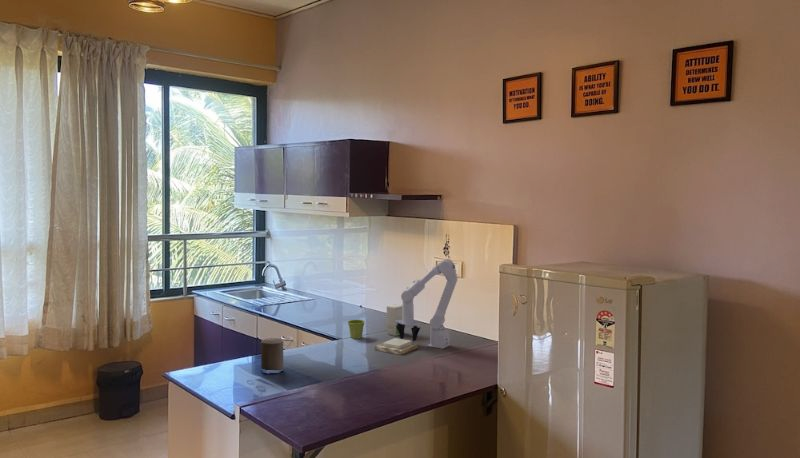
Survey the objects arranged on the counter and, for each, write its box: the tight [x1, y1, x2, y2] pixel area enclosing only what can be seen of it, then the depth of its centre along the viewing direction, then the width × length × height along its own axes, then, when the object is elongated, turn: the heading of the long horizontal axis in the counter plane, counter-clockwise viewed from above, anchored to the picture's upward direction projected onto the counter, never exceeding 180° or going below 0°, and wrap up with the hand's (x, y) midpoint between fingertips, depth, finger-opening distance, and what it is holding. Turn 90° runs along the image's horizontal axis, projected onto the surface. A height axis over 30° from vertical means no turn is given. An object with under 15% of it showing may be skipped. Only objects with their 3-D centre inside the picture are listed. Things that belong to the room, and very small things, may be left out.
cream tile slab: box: [382, 337, 413, 349], centre depth 294 cm, size 10×11×4 cm
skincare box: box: [386, 304, 403, 337], centre depth 324 cm, size 8×7×16 cm
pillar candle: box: [260, 337, 284, 370], centre depth 261 cm, size 10×10×15 cm
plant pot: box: [347, 319, 366, 340], centre depth 317 cm, size 9×9×9 cm
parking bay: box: [374, 342, 419, 355], centre depth 294 cm, size 16×14×2 cm
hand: (408, 339), depth 303 cm, fingers open, 7 cm apart
